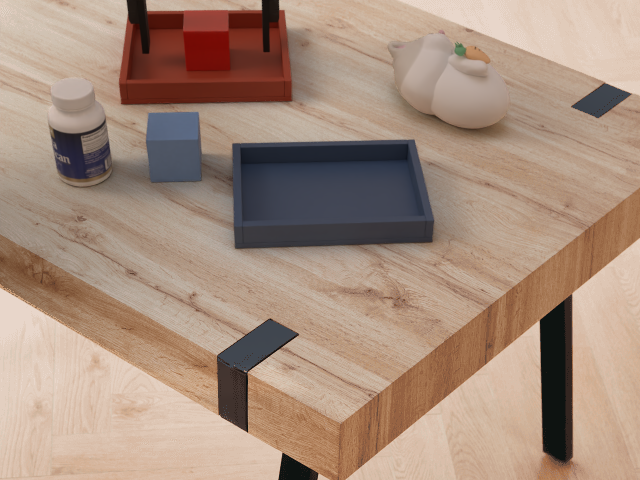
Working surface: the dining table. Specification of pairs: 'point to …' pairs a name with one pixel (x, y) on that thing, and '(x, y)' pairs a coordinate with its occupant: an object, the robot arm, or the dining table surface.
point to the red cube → (206, 40)
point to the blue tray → (329, 194)
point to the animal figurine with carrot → (449, 81)
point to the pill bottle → (79, 133)
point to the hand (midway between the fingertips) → (206, 47)
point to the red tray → (205, 86)
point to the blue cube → (174, 146)
